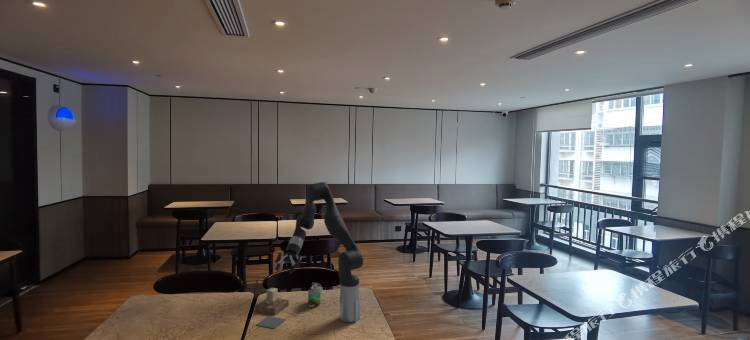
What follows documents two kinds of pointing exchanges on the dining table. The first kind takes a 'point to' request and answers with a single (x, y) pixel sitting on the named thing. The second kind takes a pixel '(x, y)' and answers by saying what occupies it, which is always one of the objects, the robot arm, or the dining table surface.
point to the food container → (314, 295)
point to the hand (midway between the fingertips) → (283, 272)
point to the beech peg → (272, 296)
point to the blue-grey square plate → (271, 322)
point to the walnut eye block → (270, 308)
